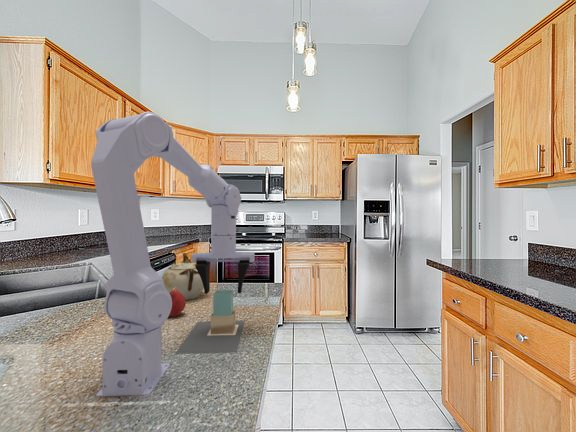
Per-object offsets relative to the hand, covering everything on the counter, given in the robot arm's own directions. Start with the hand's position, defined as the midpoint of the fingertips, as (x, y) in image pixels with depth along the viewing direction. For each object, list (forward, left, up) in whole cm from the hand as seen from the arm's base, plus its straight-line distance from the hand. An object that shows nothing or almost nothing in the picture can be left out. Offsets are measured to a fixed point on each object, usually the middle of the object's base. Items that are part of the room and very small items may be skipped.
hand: (223, 292), depth 71 cm
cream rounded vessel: (+32, +18, -10) cm, 38 cm away
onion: (+11, +15, -10) cm, 21 cm away
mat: (-3, +1, -9) cm, 10 cm away
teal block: (0, 0, -5) cm, 5 cm away
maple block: (0, 0, -9) cm, 9 cm away
